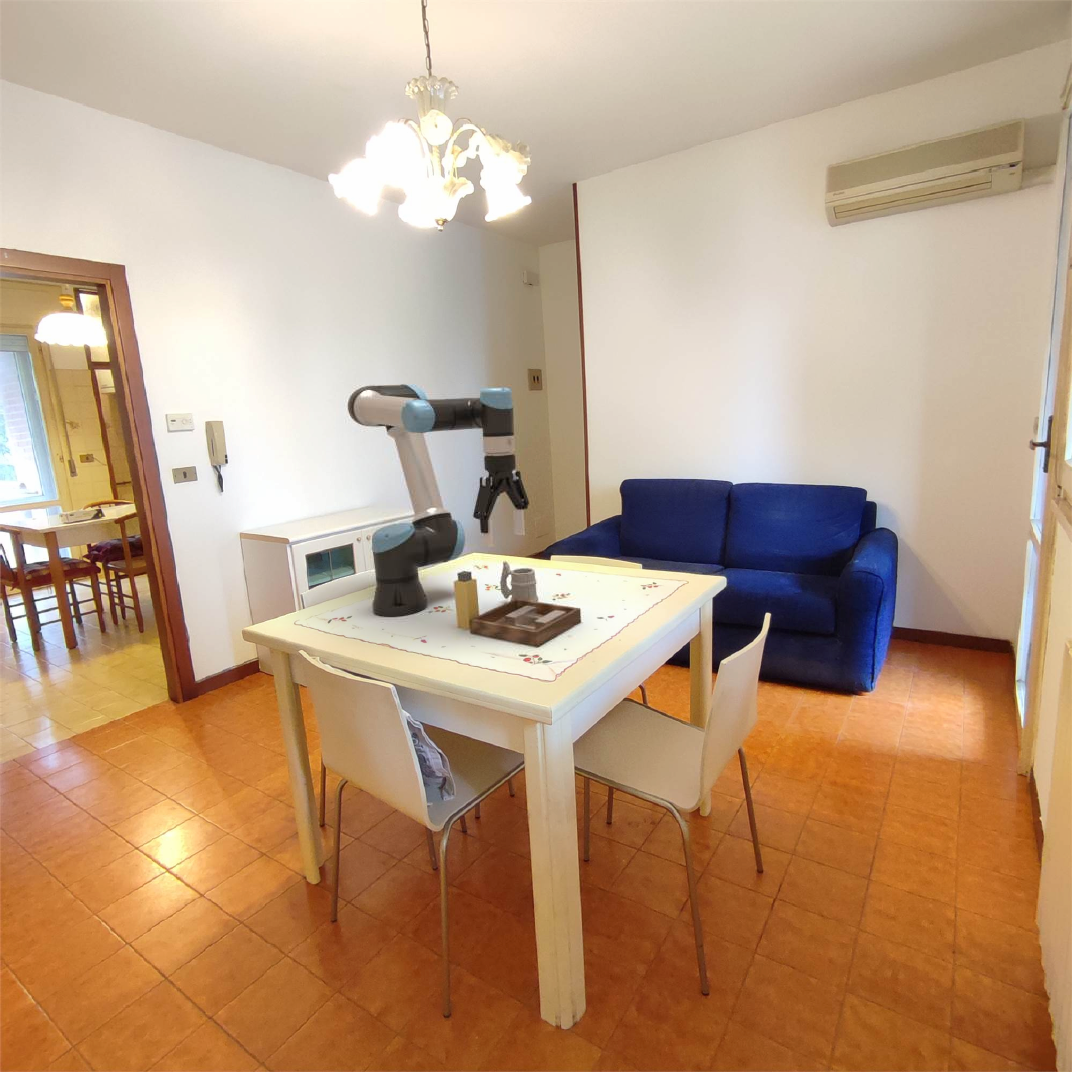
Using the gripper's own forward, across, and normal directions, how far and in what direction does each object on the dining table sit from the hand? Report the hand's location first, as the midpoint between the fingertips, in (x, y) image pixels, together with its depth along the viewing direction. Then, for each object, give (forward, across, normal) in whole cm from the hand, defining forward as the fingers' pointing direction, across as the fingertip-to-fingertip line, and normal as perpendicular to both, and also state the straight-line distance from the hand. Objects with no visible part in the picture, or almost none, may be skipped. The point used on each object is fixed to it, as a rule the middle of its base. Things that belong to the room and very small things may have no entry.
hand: (504, 540), depth 154 cm
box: (+21, -2, -6) cm, 22 cm away
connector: (+22, -7, +8) cm, 24 cm away
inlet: (+21, -2, -10) cm, 23 cm away
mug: (+22, +13, +6) cm, 26 cm away
